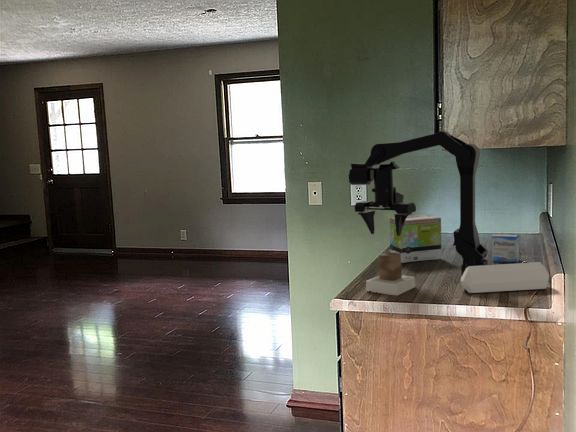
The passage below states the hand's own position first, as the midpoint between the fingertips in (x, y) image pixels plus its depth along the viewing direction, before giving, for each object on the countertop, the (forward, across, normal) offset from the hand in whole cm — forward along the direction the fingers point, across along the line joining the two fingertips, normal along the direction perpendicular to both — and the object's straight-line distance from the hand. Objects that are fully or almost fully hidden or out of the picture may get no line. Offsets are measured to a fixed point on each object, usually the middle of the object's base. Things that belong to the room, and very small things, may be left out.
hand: (385, 234), depth 184 cm
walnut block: (+10, -9, +13) cm, 19 cm away
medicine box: (+13, -24, -35) cm, 44 cm away
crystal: (+14, -36, -2) cm, 39 cm away
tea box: (+13, +4, -26) cm, 29 cm away
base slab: (+13, -9, +13) cm, 20 cm away
